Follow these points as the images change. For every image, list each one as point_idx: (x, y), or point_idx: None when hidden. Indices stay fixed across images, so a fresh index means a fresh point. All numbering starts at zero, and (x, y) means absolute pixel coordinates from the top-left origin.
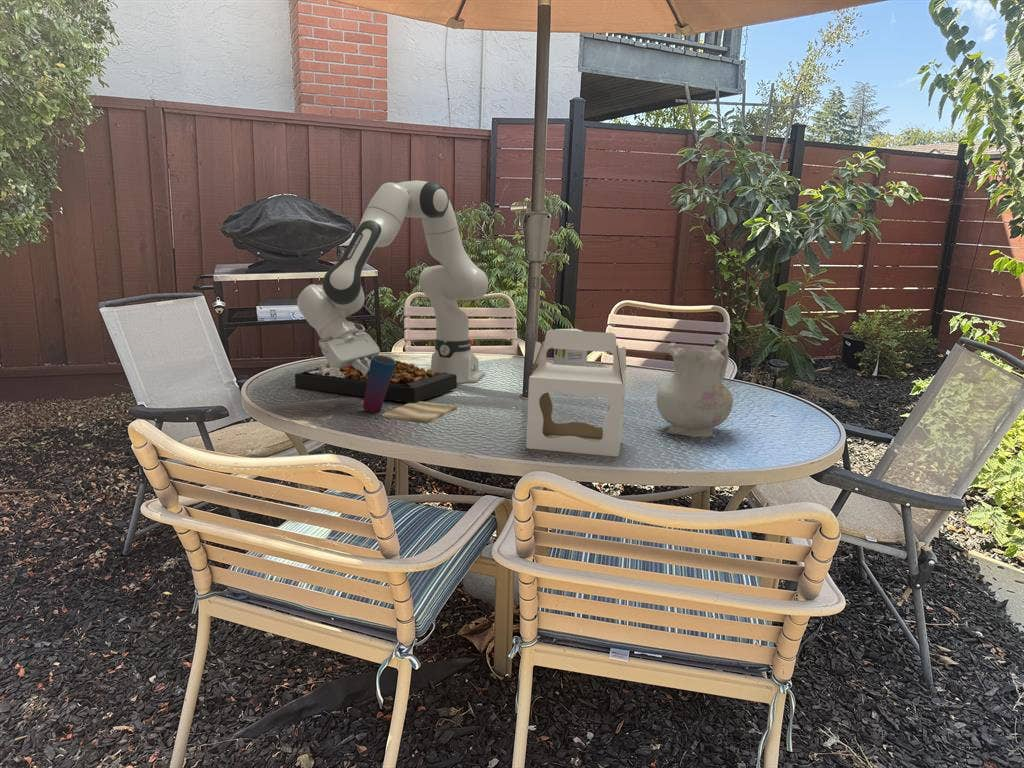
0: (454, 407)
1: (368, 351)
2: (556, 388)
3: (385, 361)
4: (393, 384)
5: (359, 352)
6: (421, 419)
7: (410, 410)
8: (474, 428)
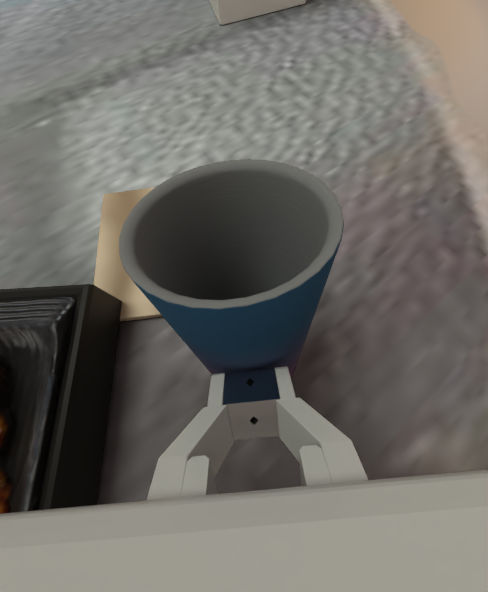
0: (120, 192)
1: (31, 563)
2: None
3: (152, 279)
4: (49, 405)
5: (265, 574)
6: None
7: None
8: (248, 97)
